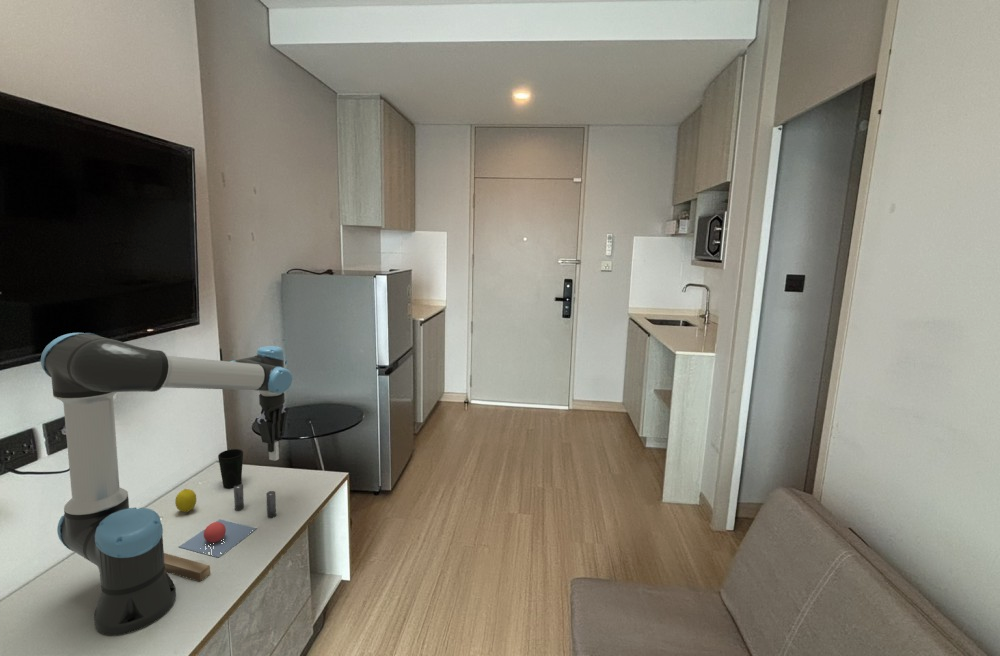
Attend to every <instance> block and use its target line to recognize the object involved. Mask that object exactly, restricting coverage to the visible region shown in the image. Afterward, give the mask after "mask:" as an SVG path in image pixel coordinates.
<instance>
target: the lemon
mask: <svg viewBox="0 0 1000 656" xmlns="http://www.w3.org/2000/svg"><path fill="white" fill-rule="evenodd" d="M174 503H175V507H176V508H177V510H178V511H180V512H184V513H188V512H189V511H191V510H192V509H194V507H195V506H196V504H197V494H196V492H195V491H194V490H193V489H190V488H184V489H183V490H181V491H179V492H178V494H177V495H176V498H175V502H174Z"/></svg>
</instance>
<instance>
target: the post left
mask: <svg viewBox="0 0 1000 656" xmlns="http://www.w3.org/2000/svg"><path fill="white" fill-rule="evenodd" d="M233 497H234V501H233V502H234V510H235V512H236V511H242V510H244V508H245V502H244V501H245V499H244V498H245V497H244V484H243V483H241V484H237V485H235V486H234V488H233Z"/></svg>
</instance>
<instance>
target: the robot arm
mask: <svg viewBox="0 0 1000 656" xmlns="http://www.w3.org/2000/svg"><path fill="white" fill-rule="evenodd" d="M284 363H285V358H284V350H283V348H282V347H280V346H277V345H266V346H261V347H259V348H258V349H257V353H256V355H254V356H249V357H246V358H245V357H244V358H240V359H233V360H231V361H226V360H218V359H217V360H215V359H205V358H196V357H184V356H177V355H176V356H174V355H167V353H166V352H165V351H163V350H158V349H157V350H156V349H150V348H149V349H148V348H146V347H145V348H144V347H140V346H137V345H133V344H130V343H126V342H123V341H120V340H117V339H112V338H108V337H103V336H101V335H98V334H95V333H91V332H85V333H84V332H72V333H71V332H70V333H66V334H63V335H60V336H58V337H57V338H56V337H55V339H53V340H52V341H50V342H49V343H48V344H47V345H46V346H45V348H44V349H43V351H42V352H41V357H40V365H41V368H42V369H43V371H44V372H45V374H46V376H48V377H49V378H51V386H52V396H53V398H55V399H56V400H59V401H61V402H62V403H63V404H62V405H63V413H64V425H65V434H66V435H65V436H66V444H67V447H66V448H67V456H68V466H69V468H68V469H69V478H70V480H69V481H70V488H71V489H70V490H71V499H70V500H68V501H67V502H66V504H64V507H63V511H64V514H63V515H62V516H61V517H60V518H59V520H58V523H57V529H56V530H57V538H58V539H59V540H60V542H61V543H62V545H63V546H64V547H66V548H67V549H68V550H70V551H71V552H74V553H76V554H77V555H79V556H81V557H82V558H84V559H85V560H87V561H89V562H90V563H92V564H94V565H95V566H97V568H98V570H99V578H100V587H101V591H100V595H99V599H98V602H97V606H96V607H95V611H94V614H93V620H94V628H95V630H96V631H97V632H98V633H100V634H102V635H104V636H105V635H106V636H120V635H125V634H130V633H133V632H137V631H138V630H142V629H143V628H145V627H148V626H150V625H152V624H153V623H156V621H158V620H159V619H161V618H162V617H163V616H165V615H166V614H167V613H168V612H169V611H170V609H171V608H173V606H174V604H175V602H176V599H177V589H176V584H175V583H174V581H173V580H172V578H171V577H170V575H169V573H168V572H166V570H165V563H164V553H165V551H164V539H163V537H164V536H163V532H164V529H163V524H162V521H161V517H160V515H159V514H158V513H157V512H156V511H155V510H154V509H151V508H148V507H140V508H137V507H130V502H129V501H130V500H129V499H130V498H129V491H128V490H126V489H125V488H122V487H120V478H119V477H120V476H119V462H118V459H119V458H118V449H117V448H118V447H117V436H116V435H117V433H116V422H115V421H116V420H115V408H114V406H115V405H114V396H115V395H116V394H117V393H124V392H125V393H127V392H130V393H131V392H133V393H134V392H135V393H138V392H142V393H143V392H149V393H150V392H153V393H154V392H158V391H160V390H161V389H162V388H164V389H165V388H167V389H171V388H172V389H196V390H197V389H203V390H207V389H208V390H231V391H232V390H234V391H236V390H241V391H257V392H258V393H259V395H258V402H259V406H260V407H261V410H260V411H261V412H260V416H259V417H256V418H255V420H254V421H255V423H256V424H257V428H258V430H259V434H260V435H259V436H260V438H261V442H262V443H264V444H267V452H268V460H270V461H275V462H276V461H278V460H279V459H280V450H279V449H280V442H281V441H282V440H283V438H282V437H284V436H285V431H286V430H285V429H286V423H287V414H288V412H289V409H290V408H289V407H288V406H287V407H286V406H284V403H285V397H286V396H285V392H287V391H288V390H289V389H290V388H291V386H292V384H293V383H292V382H293V374H292V372H291V371H290V370H289V369H288V368H284V367H285V366H284V365H285V364H284Z"/></svg>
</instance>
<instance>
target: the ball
mask: <svg viewBox="0 0 1000 656" xmlns="http://www.w3.org/2000/svg"><path fill="white" fill-rule="evenodd" d="M204 530H205V531H204V538H205V540H206V541H208V542H211V543H214V542H217V541H219V540H221V539H222V538H223V537H224V535H225V532H226V528H225V526H224V524H222V523H220V522H217V521H214V522H211V523H209V524H208V525H207V526H206V527H205V529H204Z"/></svg>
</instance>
